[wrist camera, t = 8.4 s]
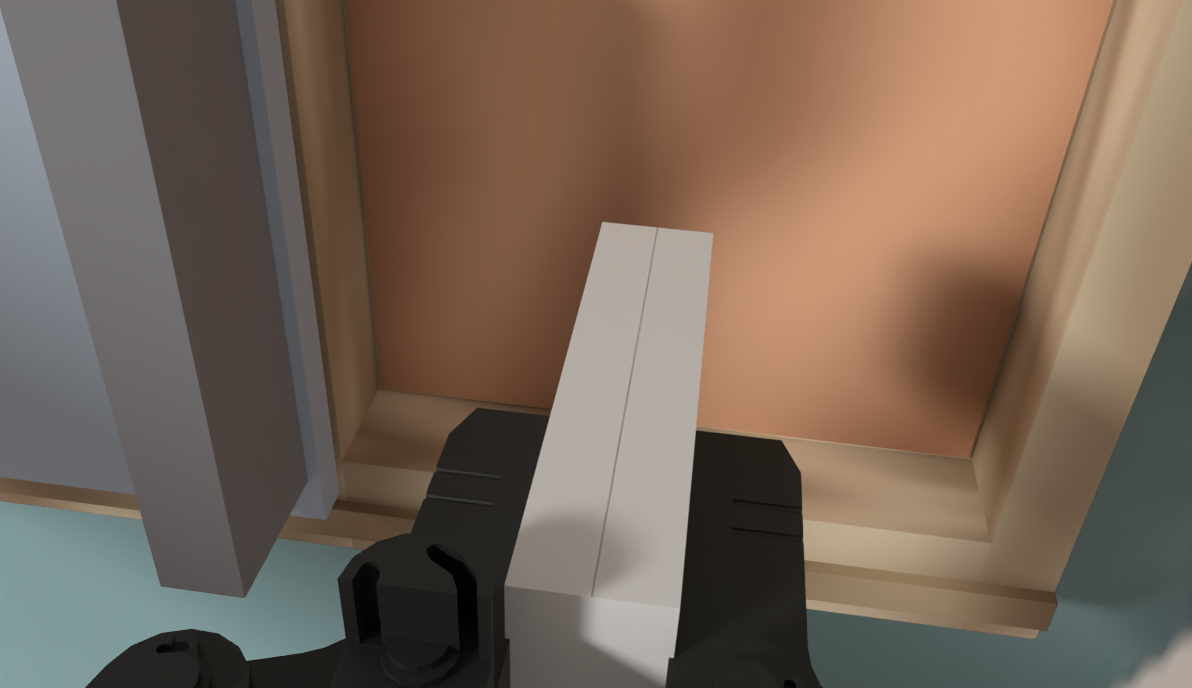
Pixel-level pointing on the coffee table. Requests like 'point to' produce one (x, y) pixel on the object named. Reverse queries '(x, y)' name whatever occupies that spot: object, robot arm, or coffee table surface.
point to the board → (759, 252)
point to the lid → (160, 276)
